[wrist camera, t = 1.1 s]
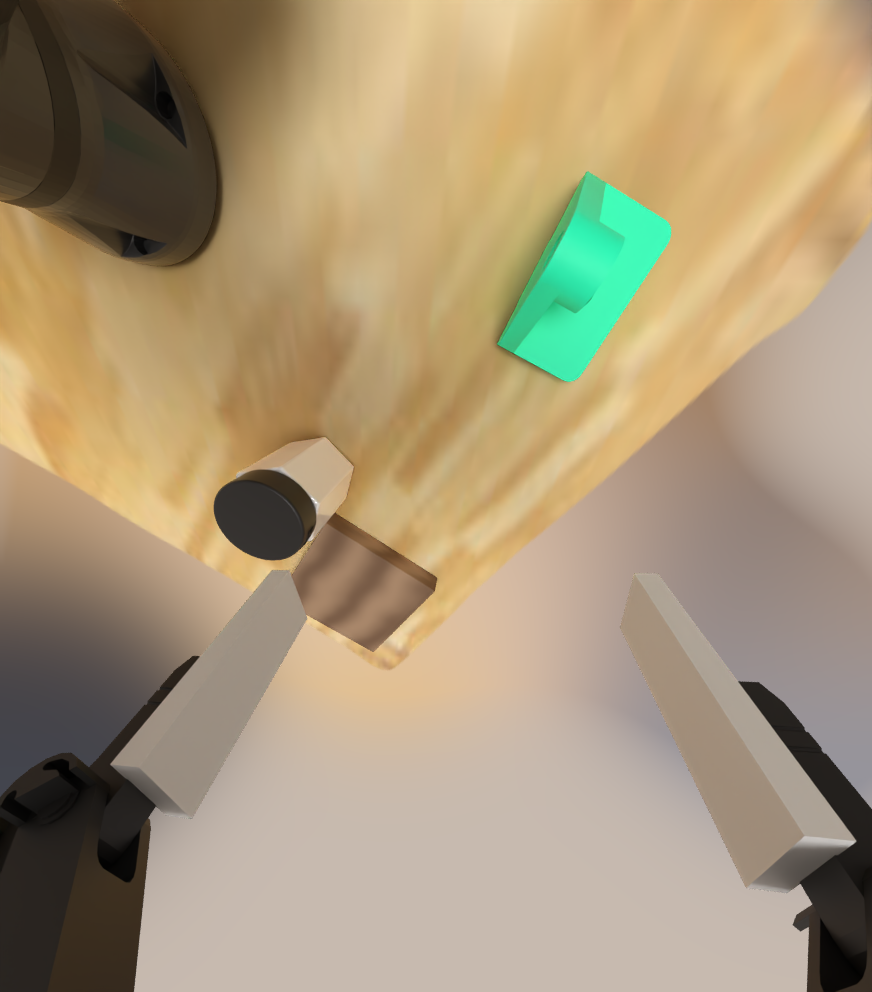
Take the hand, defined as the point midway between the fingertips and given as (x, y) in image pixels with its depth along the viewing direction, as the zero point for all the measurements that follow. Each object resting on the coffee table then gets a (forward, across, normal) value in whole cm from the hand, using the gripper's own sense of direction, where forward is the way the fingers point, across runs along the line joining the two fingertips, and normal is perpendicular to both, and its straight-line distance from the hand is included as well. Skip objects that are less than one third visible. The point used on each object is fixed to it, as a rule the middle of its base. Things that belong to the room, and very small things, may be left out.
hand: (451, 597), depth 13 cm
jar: (+24, -17, -4) cm, 30 cm away
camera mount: (+24, +9, +11) cm, 28 cm away
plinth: (+24, -16, -21) cm, 35 cm away
